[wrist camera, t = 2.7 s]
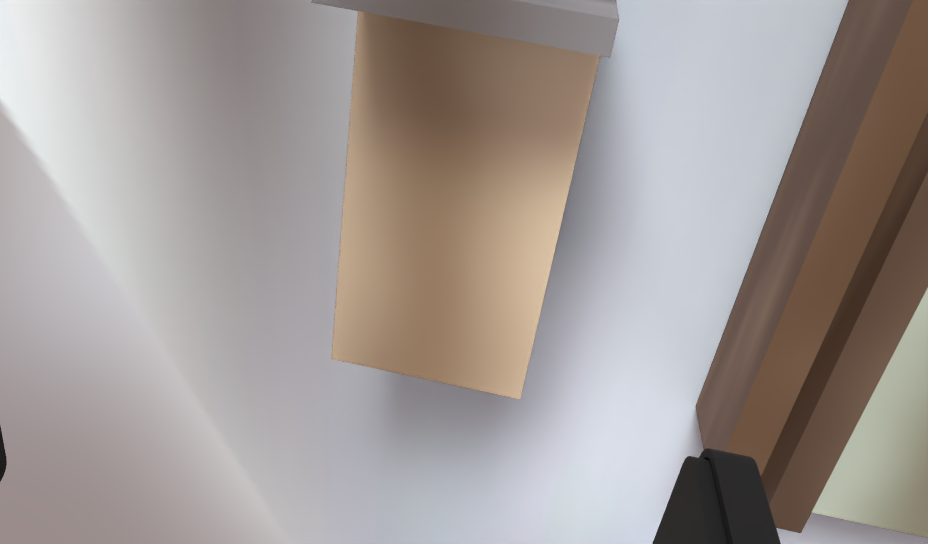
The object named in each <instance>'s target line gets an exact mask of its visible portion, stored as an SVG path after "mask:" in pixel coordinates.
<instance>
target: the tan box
mask: <svg viewBox="0 0 928 544" xmlns="http://www.w3.org/2000/svg"><path fill="white" fill-rule="evenodd" d="M312 2H313V3H318V4H324V5H329V6H334V7H340V8H345V9H351V10H356V11H358V20H357V33H356V46H355V59H354V72H353V85H352V98H351V111H350V124H349V137H348V150H347V163H346V176H345V189H344V202H343V215H342V228H341V241H340V254H339V267H338V280H337V293H336V306H335V319H334V332H333V345H332V358H331V359H335V360H339V361H344V362H349V363H353V364H358V365H363V366H367V367H372V368H376V369H381V370H386V371H390V372H395V373H400V374H404V375H409V376H414V377H418V378H423V379H427V380H432V381H437V382H441V383H446V384H451V385H455V386H460V387H465V388H469V389H474V390H479V391H483V392H488V393H492V394H497V395H502V396H506V397H511V398H516V399H520V398H521V394H522V390H523V385H524V381H525V377H526V372H527V368H528V364H529V360H530V355H531V351H532V347H533V342H534V338H535V334H536V329H537V325H538V321H539V317H540V312H541V308H542V304H543V299H544V295H545V291H546V287H547V282H548V278H549V274H550V269H551V265H552V261H553V256H554V252H555V248H556V244H557V239H558V235H559V231H560V226H561V222H562V218H563V214H564V209H565V205H566V201H567V196H568V192H569V188H570V183H571V179H572V175H573V171H574V166H575V162H576V158H577V153H578V149H579V145H580V141H581V136H582V132H583V128H584V123H585V119H586V115H587V110H588V106H589V102H590V98H591V93H592V89H593V85H594V80H595V76H596V72H597V68H598V63H599V59H600V56H605V57H610V56H611V51H612V47H613V43H614V39H615V35H616V31H617V26H618V22H619V15H618V9H617V3H616V0H312Z"/></svg>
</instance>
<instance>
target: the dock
mask: <svg viewBox="0 0 928 544" xmlns="http://www.w3.org/2000/svg"><path fill="white" fill-rule="evenodd" d="M696 410H697V416H698V421H699V426H700V432H701V437H702V442H703V448H704V450H705V449H707V448H710V449H715V450H720V451H725V452H729V453H734V454H739V455H744V456H749V457H752V458H753V459H754V460H755V462H756V464H757V466H758V470H759V473H760V476H761V480H762V483H763V486H764V490H765V493H766V496H767V500H768V503H769V506H770V510H771V513H772V517H773V520H774V523H775V527H776V528H780V529H784V530H789V531H793V532H798V533H801V532H802V530H803V528H804V526H805V524H806V522H807V520H808V518H809V516H810V514H811V512H812V513H817V514H821V515H826V516H831V517H835V518H840V519H844V520H849V521H853V522H858V523H862V524H867V525H872V526H876V527H881V528H885V529H890V530H894V531H899V532H903V533H908V534H913V535H917V536H922V537H926V538H928V0H849V2H848V5H847V7H846V10H845V13H844V15H843V18H842V20H841V23H840V26H839V28H838V31H837V34H836V36H835V39H834V42H833V44H832V47H831V50H830V52H829V55H828V58H827V60H826V63H825V65H824V68H823V71H822V73H821V76H820V79H819V81H818V84H817V87H816V89H815V92H814V95H813V97H812V100H811V103H810V105H809V108H808V110H807V113H806V116H805V118H804V121H803V124H802V126H801V129H800V132H799V134H798V137H797V140H796V142H795V145H794V148H793V150H792V153H791V155H790V158H789V161H788V163H787V166H786V169H785V171H784V174H783V177H782V179H781V182H780V185H779V187H778V190H777V193H776V195H775V198H774V201H773V203H772V206H771V208H770V211H769V214H768V216H767V219H766V222H765V224H764V227H763V230H762V232H761V235H760V238H759V240H758V243H757V246H756V248H755V251H754V253H753V256H752V259H751V261H750V264H749V267H748V269H747V272H746V275H745V277H744V280H743V283H742V285H741V288H740V291H739V293H738V296H737V298H736V301H735V304H734V306H733V309H732V312H731V314H730V317H729V320H728V322H727V325H726V328H725V330H724V333H723V336H722V338H721V341H720V343H719V346H718V349H717V351H716V354H715V357H714V359H713V362H712V365H711V367H710V370H709V373H708V375H707V378H706V381H705V383H704V386H703V388H702V391H701V394H700V396H699V399H698V402H697V404H696Z"/></svg>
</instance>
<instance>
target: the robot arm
mask: <svg viewBox="0 0 928 544" xmlns="http://www.w3.org/2000/svg"><path fill="white" fill-rule="evenodd" d="M5 469H6V454H5V449H4V443H3V438H2V432H1V427H0V481H1V479H2V477H3V475H4V472H5ZM653 544H781V543H780V540H779V537H778V533H777V530H776V527H775V523H774V520H773V517H772V513H771V510H770V506H769V503H768V500H767V496H766V493H765V490H764V486H763V483H762V480H761V476H760V473H759V470H758V466H757V464H756V462H755V460H754V459H753V458H752V457H749V456H744V455H739V454H734V453H729V452H725V451H720V450H715V449H710V448H707V449H705V450H704V451H703V452H702V453H701V455H700V457H699V458H696V457H691V456H688V457H687V458H686V459H685V461H684V463H683V465H682V468H681V470H680V473H679V475H678V478H677V481H676V483H675V486H674V489H673V491H672V494H671V496H670V499H669V502H668V504H667V507H666V510H665V512H664V515H663V517H662V520H661V523H660V525H659V528H658V531H657V533H656V536H655V538H654V541H653Z"/></svg>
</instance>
